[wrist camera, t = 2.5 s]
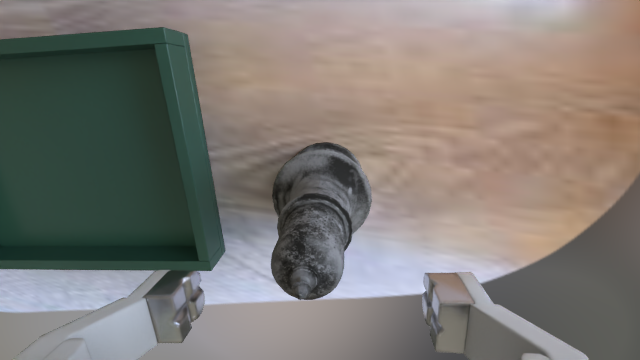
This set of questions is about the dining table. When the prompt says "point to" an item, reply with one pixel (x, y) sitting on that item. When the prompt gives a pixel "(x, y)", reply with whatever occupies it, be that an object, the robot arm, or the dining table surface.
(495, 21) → the dining table surface
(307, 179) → the dark grey chess piece
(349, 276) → the dining table surface
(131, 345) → the robot arm
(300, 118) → the dining table surface
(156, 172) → the tray
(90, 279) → the dining table surface
